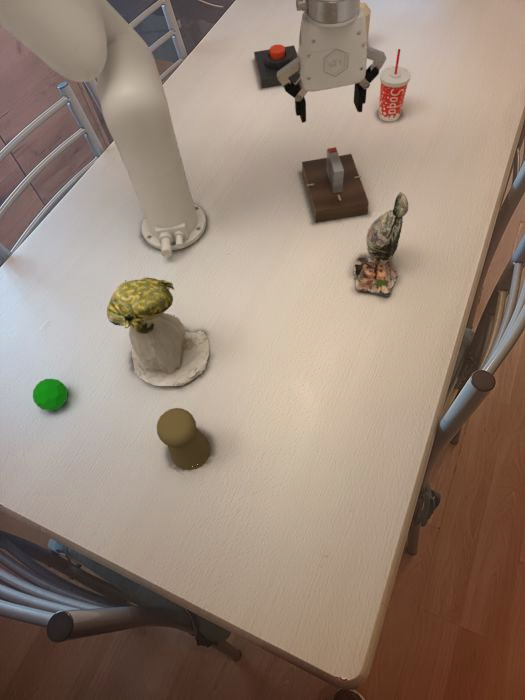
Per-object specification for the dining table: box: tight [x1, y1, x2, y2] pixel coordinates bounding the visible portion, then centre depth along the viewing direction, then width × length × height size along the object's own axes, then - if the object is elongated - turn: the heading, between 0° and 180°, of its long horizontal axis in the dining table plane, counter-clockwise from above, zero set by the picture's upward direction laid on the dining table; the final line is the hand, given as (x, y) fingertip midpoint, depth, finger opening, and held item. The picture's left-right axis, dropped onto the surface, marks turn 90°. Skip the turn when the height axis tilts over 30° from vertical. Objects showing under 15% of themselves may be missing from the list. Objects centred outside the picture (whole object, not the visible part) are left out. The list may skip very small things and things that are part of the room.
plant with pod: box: [352, 191, 409, 298], centre depth 79 cm, size 8×11×20 cm
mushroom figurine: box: [106, 277, 210, 387], centre depth 75 cm, size 12×13×18 cm
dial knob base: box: [301, 153, 370, 224], centre depth 97 cm, size 14×11×3 cm
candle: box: [360, 2, 372, 45], centre depth 119 cm, size 6×6×10 cm
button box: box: [253, 45, 300, 89], centre depth 119 cm, size 12×10×4 cm
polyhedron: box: [32, 378, 68, 411], centre depth 78 cm, size 5×5×5 cm
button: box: [269, 44, 286, 60], centre depth 117 cm, size 4×4×2 cm
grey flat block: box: [326, 146, 344, 193], centre depth 94 cm, size 6×2×5 cm, turn 8°
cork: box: [156, 407, 212, 471], centre depth 69 cm, size 6×6×11 cm
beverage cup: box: [378, 48, 412, 122], centre depth 103 cm, size 6×6×14 cm
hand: (330, 112), depth 85 cm, fingers open, 9 cm apart
